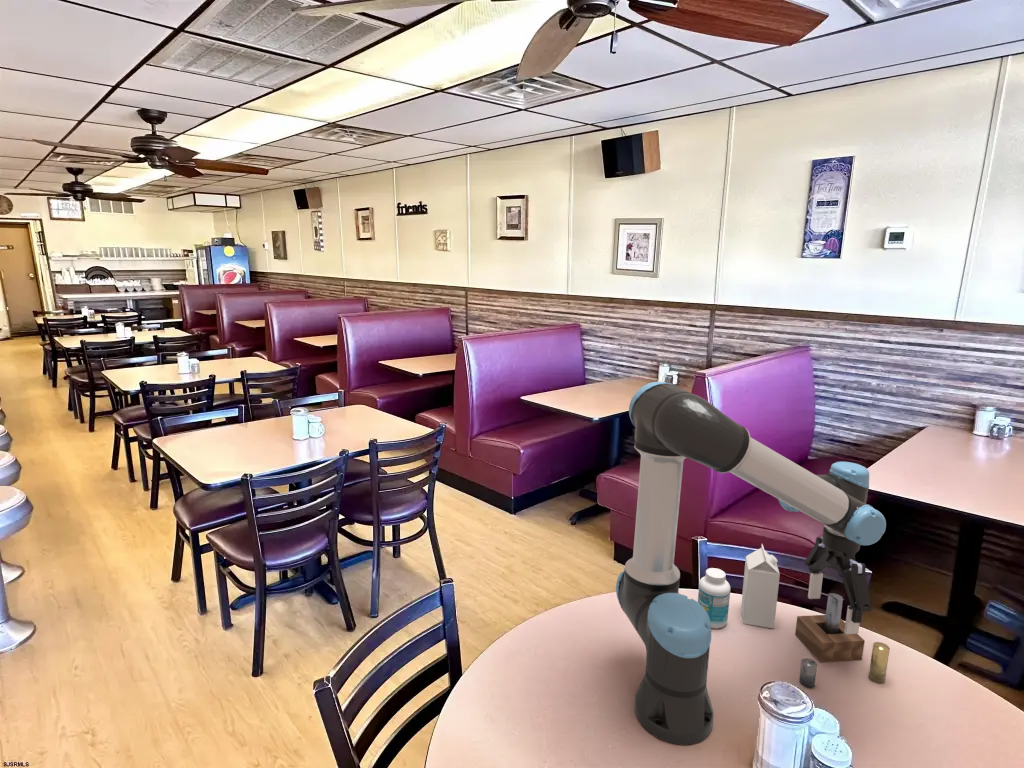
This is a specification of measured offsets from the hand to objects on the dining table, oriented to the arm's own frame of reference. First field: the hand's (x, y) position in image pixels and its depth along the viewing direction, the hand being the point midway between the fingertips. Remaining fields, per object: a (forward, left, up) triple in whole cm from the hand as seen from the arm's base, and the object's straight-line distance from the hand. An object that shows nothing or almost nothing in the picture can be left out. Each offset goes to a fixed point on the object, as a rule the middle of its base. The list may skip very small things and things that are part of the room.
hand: (831, 614), depth 132 cm
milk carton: (-11, +12, -9) cm, 18 cm away
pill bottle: (-23, +12, -9) cm, 27 cm away
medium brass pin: (+4, -11, -8) cm, 14 cm away
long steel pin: (0, 0, -8) cm, 9 cm away
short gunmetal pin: (-12, -11, -8) cm, 18 cm away
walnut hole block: (0, 0, -8) cm, 8 cm away
